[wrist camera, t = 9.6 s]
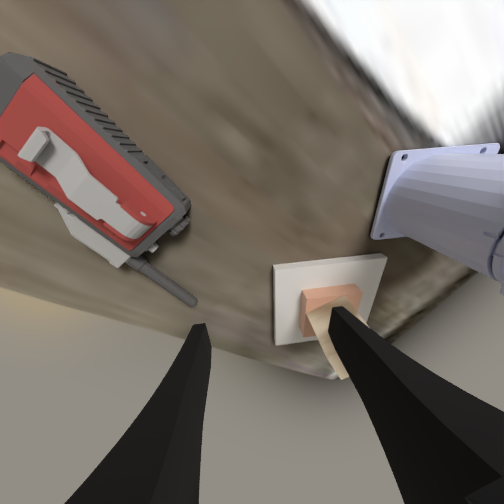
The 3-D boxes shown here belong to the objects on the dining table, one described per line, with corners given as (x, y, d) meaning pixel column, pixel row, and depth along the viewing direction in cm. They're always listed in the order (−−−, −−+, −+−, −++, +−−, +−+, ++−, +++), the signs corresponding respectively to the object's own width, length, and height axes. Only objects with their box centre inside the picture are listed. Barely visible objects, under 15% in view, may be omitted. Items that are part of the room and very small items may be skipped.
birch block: (344, 295, 20) (376, 336, 15) (354, 319, 22) (386, 362, 17) (306, 313, 21) (326, 357, 16) (319, 335, 23) (341, 379, 18)
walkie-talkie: (-25, 145, 13) (191, 301, 22) (-130, 143, 9) (182, 333, 18) (40, 40, 11) (250, 256, 20) (-57, -17, 7) (255, 282, 16)
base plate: (381, 253, 21) (398, 265, 19) (358, 327, 27) (370, 343, 24) (272, 264, 20) (278, 279, 18) (274, 338, 26) (278, 356, 24)
